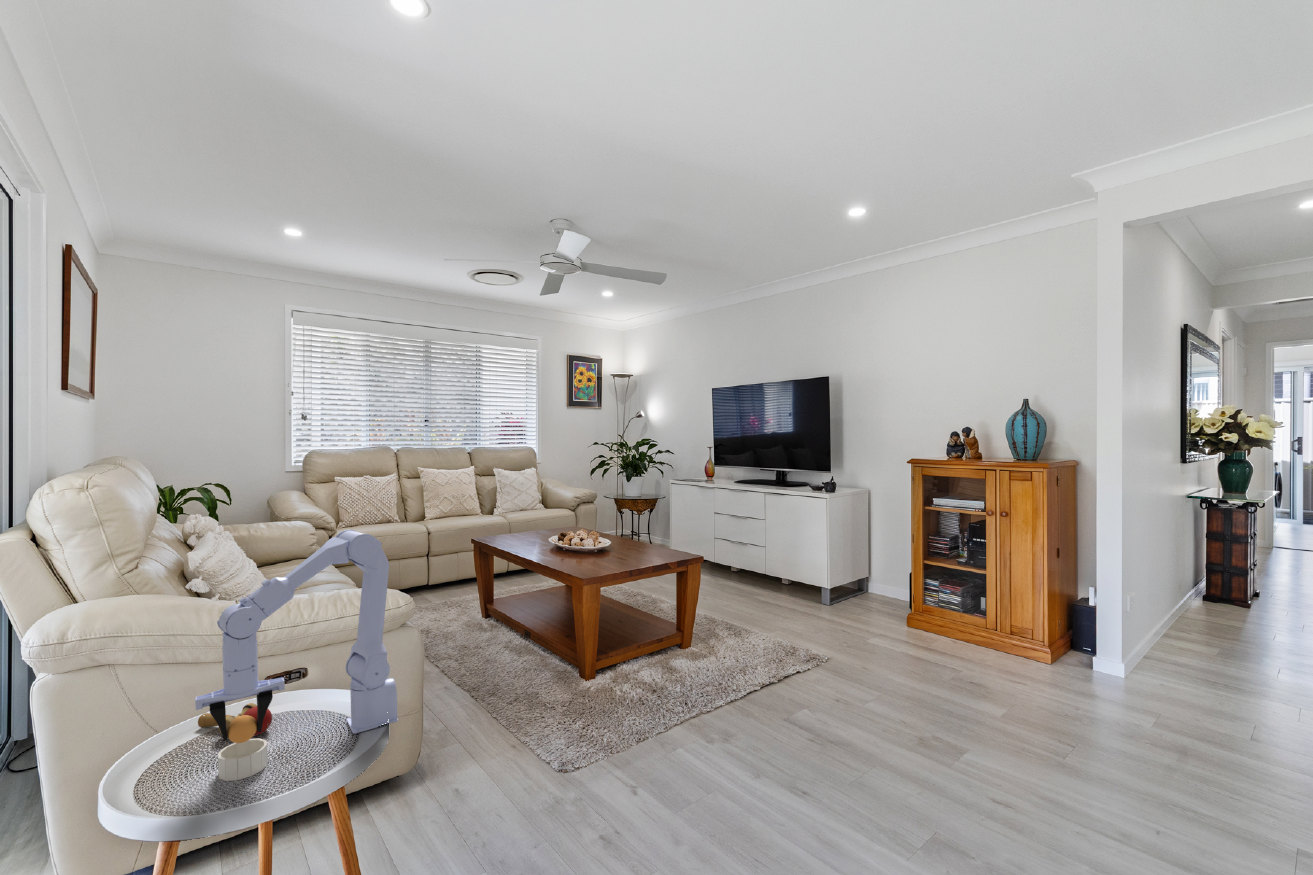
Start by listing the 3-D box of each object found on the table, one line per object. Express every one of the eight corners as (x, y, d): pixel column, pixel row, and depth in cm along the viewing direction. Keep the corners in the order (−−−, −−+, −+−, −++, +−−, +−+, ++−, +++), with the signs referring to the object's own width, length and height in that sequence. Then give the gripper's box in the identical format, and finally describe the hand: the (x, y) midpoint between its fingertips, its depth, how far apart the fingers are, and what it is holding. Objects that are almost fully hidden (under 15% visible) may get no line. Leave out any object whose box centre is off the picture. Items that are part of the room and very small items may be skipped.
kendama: (185, 742, 134) (249, 740, 130) (186, 712, 136) (250, 709, 131) (218, 732, 142) (281, 729, 137) (219, 703, 143) (281, 699, 139)
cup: (265, 753, 127) (265, 734, 127) (269, 770, 120) (268, 750, 120) (218, 766, 122) (217, 747, 122) (219, 785, 115) (218, 764, 115)
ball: (256, 732, 124) (256, 708, 124) (258, 742, 120) (257, 717, 120) (226, 740, 121) (226, 715, 121) (227, 750, 117) (226, 725, 117)
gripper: (281, 651, 128) (283, 715, 128) (194, 669, 120) (196, 737, 120) (285, 661, 123) (286, 728, 123) (194, 680, 114) (196, 752, 114)
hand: (242, 734), depth 121 cm, fingers closed on ball, 5 cm apart
